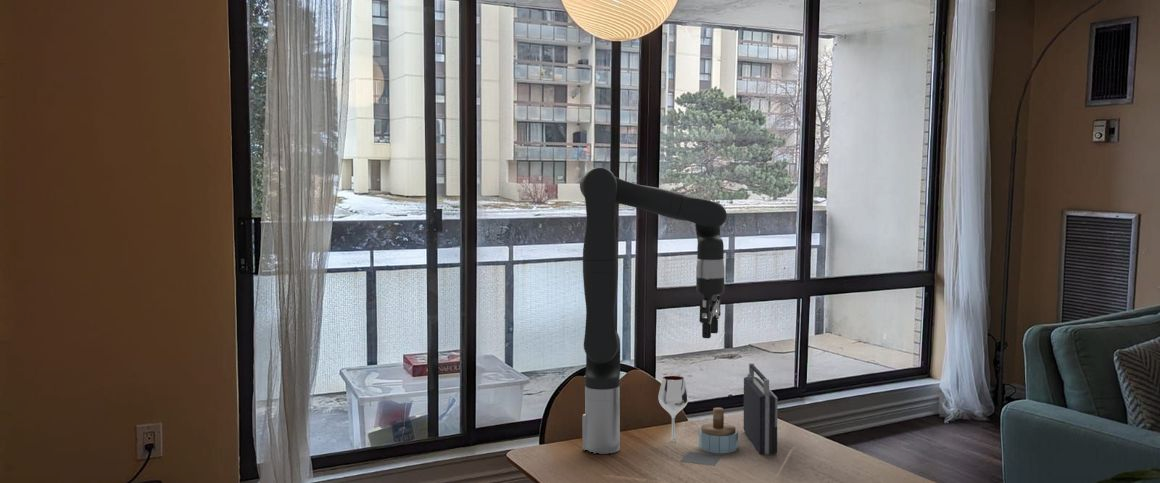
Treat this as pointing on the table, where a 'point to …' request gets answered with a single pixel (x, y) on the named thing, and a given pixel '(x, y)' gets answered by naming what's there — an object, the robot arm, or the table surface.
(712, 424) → the lid
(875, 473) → the table surface
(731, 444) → the bowl
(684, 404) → the wineglass
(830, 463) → the table surface
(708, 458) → the mat
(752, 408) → the radio
